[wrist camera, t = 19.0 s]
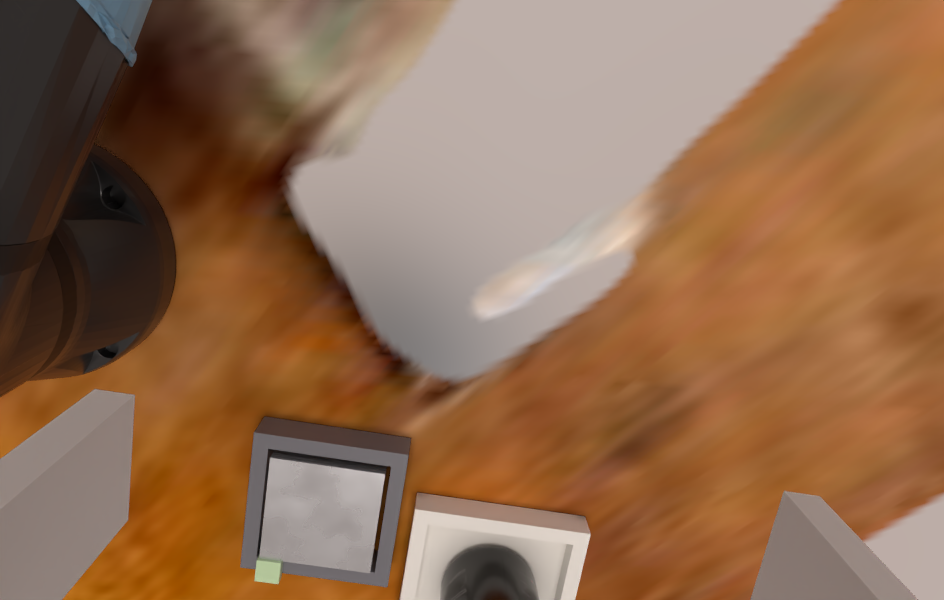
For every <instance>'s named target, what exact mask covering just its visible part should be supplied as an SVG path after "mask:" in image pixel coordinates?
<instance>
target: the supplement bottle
mask: <svg viewBox="0 0 944 600" xmlns="http://www.w3.org/2000/svg"><path fill="white" fill-rule="evenodd" d="M440 600H539V596H538V591H537V587H536V582H535V578H534V575H533V573H532V571H531V569H530V567H529V566H528V564H527V563H526V562H525V561H524V560H523V559H522V558H521V557H520V556H518V555H517V554H515V553H513V552H511V551H509V550H507V549H504V548H500V547H480V548H475V549H472V550H469V551H467V552H465V553H463V554H462V555H460V556H459V557H458V558H456V559H455V560H454V561H453V562H452V563H451V564H450V566H449V567H448V568H447V570H446V572H445V574H444V576H443V579H442V583H441V591H440Z"/></svg>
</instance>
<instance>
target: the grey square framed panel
mask: <svg viewBox="0 0 944 600" xmlns="http://www.w3.org/2000/svg"><path fill="white" fill-rule="evenodd" d="M410 443H411V438H407V437H400V436H393V435H386V434H380V433H373V432H366V431H359V430H353V429H346V428H339V427H332V426H325V425H319V424H312V423H305V422H298V421H292V420H285V419H278V418H271V417H265V416H264V418H263V420H262V421H261V423H260V424H259V426H258V427H257V429H256V430H255V432H254V438H253V447H252V457H251V467H250V477H249V487H248V497H247V507H246V517H245V526H244V536H243V546H242V556H241V566H240V567H242V568H250V569H256V571H255V581H258V582H266V583H273V584H279V582H280V579H281V576H282V573H287V574H294V575H301V576H309V577H316V578H324V579H331V580H338V581H346V582H353V583H360V584H368V585H375V586H383V587H388V580H389V574H390V568H391V562H392V556H393V549H394V543H395V537H396V531H397V525H398V518H399V512H400V506H401V500H402V493H403V487H404V481H405V475H406V469H407V462H408V456H409V450H410ZM274 450H280V451H287V452H294V453H300V454H307V455H314V456H321V457H328V458H335V459H342V460H349V461H356V462H362V463H369V464H376V465H383V466H390V467H391V471H390V478H389V484H388V491H387V497H386V504H385V510H384V517H383V523H382V530H381V536H380V542H379V549H378V551H377V550H374V554H373V560H372V566H371V571H370V573H364V572H356V571H349V570H342V569H334V568H327V567H320V566H312V565H305V564H298V563H290V562H283V561H276V560H268V559H261V558H259V555H260V546H261V537H262V528H263V518H264V509H265V500H266V491H267V481H268V472H269V463H270V457H271V455H272V453H273V452H274Z"/></svg>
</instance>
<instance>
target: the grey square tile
mask: <svg viewBox="0 0 944 600" xmlns="http://www.w3.org/2000/svg"><path fill="white" fill-rule="evenodd" d="M386 469H387V466H383V465H376V464H369V463H362V462H356V461H349V460H342V459H335V458H328V457H321V456H314V455H307V454H300V453H294V452H287V451H280V450H274V452H273V453H272V455H271V457H270V463H269V472H268V481H267V491H266V500H265V509H264V518H263V528H262V537H261V546H260V555H259V558H261V559H268V560H276V561H283V562H290V563H298V564H305V565H312V566H320V567H327V568H334V569H342V570H349V571H356V572H364V573H370V571H371V566H372V560H373V554H374V547H375V541H376V534H377V528H378V521H379V514H380V508H381V501H382V495H383V488H384V482H385V475H386Z"/></svg>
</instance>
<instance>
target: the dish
mask: <svg viewBox="0 0 944 600" xmlns="http://www.w3.org/2000/svg"><path fill="white" fill-rule="evenodd" d="M590 535H591V534H590V531H589V527H588V524H587V521H586V518H585V516H578V515H571V514H565V513H558V512H551V511H544V510H537V509H530V508H523V507H516V506H509V505H502V504H495V503H488V502H481V501H474V500H467V499H460V498H453V497H446V496H439V495H432V494H425V493H418V492H417V496H416V502H415V508H414V514H413V520H412V526H411V532H410V538H409V544H408V550H407V556H406V562H405V568H404V574H403V580H402V586H401V592H400V598H399V600H440V591H441V583H442V579H443V576H444V574H445V572H446V570H447V568H448V567H449V566H450V564H451V563H452V562H453V561H454V560H455V559H456V558H458V557H459V556H460V555H462V554H463V553H465V552H467V551H469V550H472V549H475V548H480V547H500V548H504V549H507V550H509V551H511V552H513V553H515V554H517V555H518V556H520V557H521V558H522V559H523V560H524V561H525V562H526V563H527V564H528V566H529V567H530V569H531V571H532V573H533V575H534V578H535V582H536V587H537V591H538V596H539V600H575V598H576V594H577V589H578V585H579V581H580V577H581V573H582V568H583V564H584V560H585V556H586V552H587V547H588V543H589V539H590Z"/></svg>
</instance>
